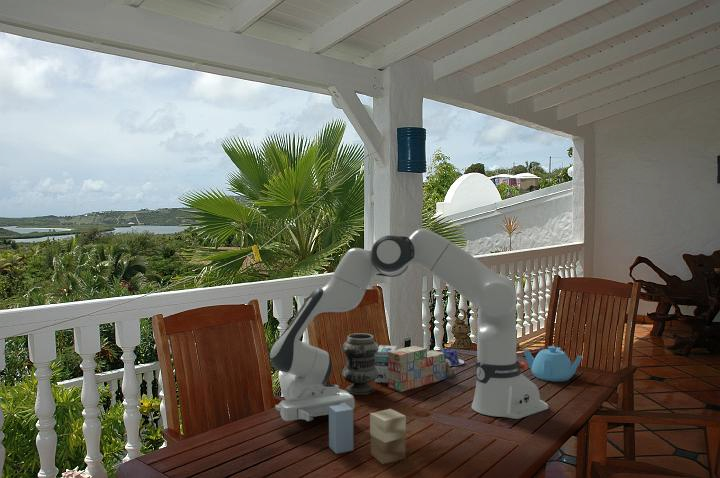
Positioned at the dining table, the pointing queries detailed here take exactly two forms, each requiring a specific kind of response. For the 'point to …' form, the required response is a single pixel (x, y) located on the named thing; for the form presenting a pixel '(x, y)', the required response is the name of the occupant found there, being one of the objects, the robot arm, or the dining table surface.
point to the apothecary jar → (360, 363)
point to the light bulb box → (383, 362)
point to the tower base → (388, 450)
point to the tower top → (387, 425)
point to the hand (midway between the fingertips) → (327, 415)
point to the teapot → (552, 364)
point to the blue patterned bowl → (452, 356)
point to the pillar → (341, 428)
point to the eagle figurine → (449, 369)
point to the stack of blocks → (414, 368)
